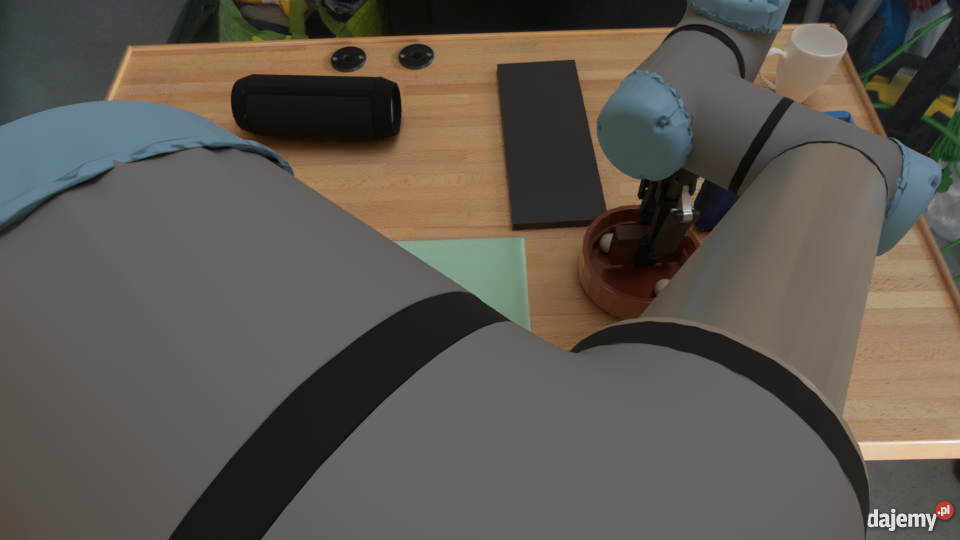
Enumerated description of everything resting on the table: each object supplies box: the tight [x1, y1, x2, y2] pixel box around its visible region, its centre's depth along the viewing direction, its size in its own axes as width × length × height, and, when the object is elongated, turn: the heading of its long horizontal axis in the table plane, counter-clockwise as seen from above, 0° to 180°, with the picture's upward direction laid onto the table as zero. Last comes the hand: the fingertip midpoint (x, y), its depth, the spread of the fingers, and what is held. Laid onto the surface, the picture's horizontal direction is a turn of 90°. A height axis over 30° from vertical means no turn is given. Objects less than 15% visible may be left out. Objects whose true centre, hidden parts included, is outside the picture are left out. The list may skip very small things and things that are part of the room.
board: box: [496, 59, 608, 231], centre depth 93 cm, size 36×14×2 cm, turn 3°
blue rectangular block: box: [692, 109, 857, 232], centre depth 75 cm, size 14×5×20 cm, turn 89°
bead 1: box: [600, 233, 613, 253], centre depth 79 cm, size 3×3×3 cm
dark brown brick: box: [608, 224, 689, 265], centre depth 75 cm, size 2×9×6 cm, turn 93°
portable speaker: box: [230, 73, 403, 141], centre depth 92 cm, size 26×10×10 cm, turn 86°
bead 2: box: [654, 279, 670, 296], centre depth 75 cm, size 3×3×3 cm
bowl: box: [577, 204, 701, 320], centre depth 77 cm, size 15×15×6 cm
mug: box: [757, 23, 848, 104], centre depth 92 cm, size 12×8×11 cm
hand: (642, 255), depth 77 cm, fingers closed on dark brown brick, 2 cm apart
